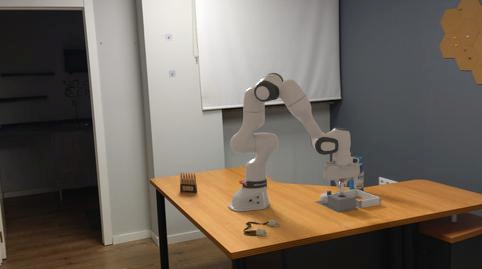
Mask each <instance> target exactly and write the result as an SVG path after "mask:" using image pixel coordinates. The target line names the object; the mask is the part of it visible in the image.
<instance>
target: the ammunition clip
mask: <svg viewBox="0 0 482 269" xmlns="http://www.w3.org/2000/svg"><path fill="white" fill-rule="evenodd" d="M179 175H180V179H179V182H180V184H179V192H180V193H193V194H197V193H198V184H197V179H196V174H195V172H194V173H187V172H186V173H185V172H183V173H182V172H180V174H179Z"/></svg>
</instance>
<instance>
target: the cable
mask: <svg viewBox="0 0 482 269" xmlns="http://www.w3.org/2000/svg"><path fill="white" fill-rule="evenodd" d="M252 224H255V225H264V226H265V225H268V226H269V227H272V228H273V227H274V228H276V227H278V226H279V225H280V224H279V222H278V220H276V219H272V218H271V219H269V220H268V221H267V222H262V223H260V222H256V221H247V222H246V223H245V225H248V226H246V227H245V228H244V229H243V230H242V231H243V232H244V233H245V234H254V233H255V234H256V236H260V237H264V236H266V237H267V235H268V232H267V230H266V229H265V228H263V229H262V228H260V227H259V228H257V229H256V230H250V231H246V230H248V229H249V228H251V227H252Z"/></svg>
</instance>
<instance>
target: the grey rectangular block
mask: <svg viewBox="0 0 482 269" xmlns="http://www.w3.org/2000/svg"><path fill="white" fill-rule="evenodd" d="M356 199H357V196H352V195H349V194H346V193H344V197H339V193H338V194H337V193H335V192H332V190H326V192H323V193H321V194H320V200H317V201H315V203H316V204H319V205H321V206H323V207H324V208H325V207H326V208H327V209H330V210H331V211H333V212H336V213H338V214H341V213H346V212H350V211H356V210H359V208H358V207H356Z"/></svg>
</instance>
